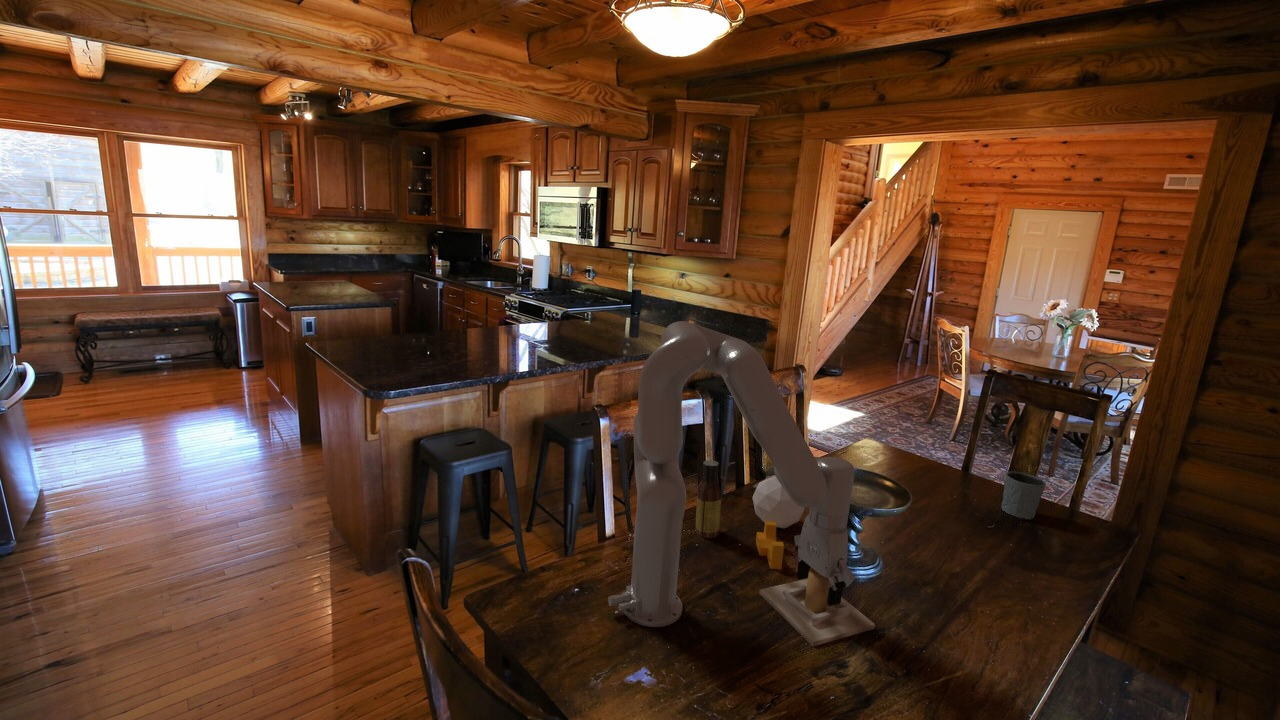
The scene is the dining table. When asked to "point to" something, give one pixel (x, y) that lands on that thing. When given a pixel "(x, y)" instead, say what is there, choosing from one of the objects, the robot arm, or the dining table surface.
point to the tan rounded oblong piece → (816, 592)
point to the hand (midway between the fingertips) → (817, 590)
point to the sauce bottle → (708, 501)
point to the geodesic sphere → (775, 503)
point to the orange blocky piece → (770, 545)
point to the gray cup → (1022, 494)
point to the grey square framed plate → (815, 614)
